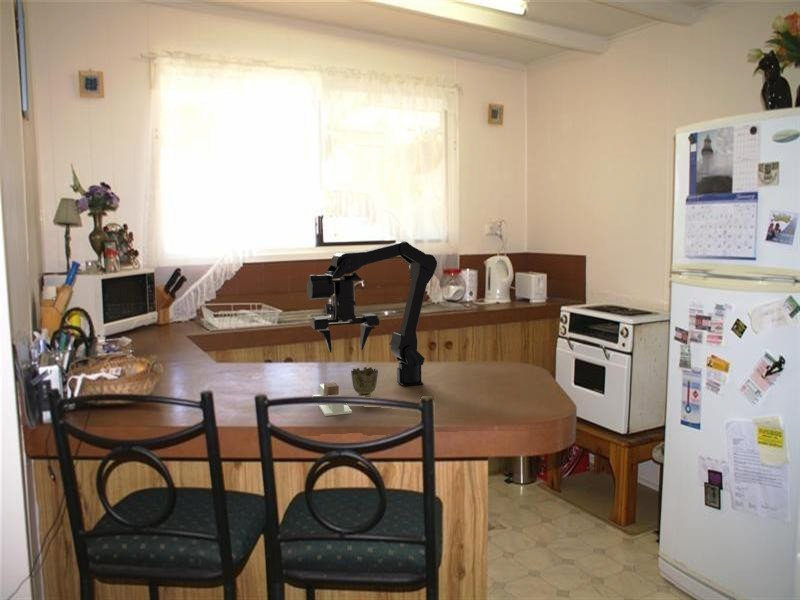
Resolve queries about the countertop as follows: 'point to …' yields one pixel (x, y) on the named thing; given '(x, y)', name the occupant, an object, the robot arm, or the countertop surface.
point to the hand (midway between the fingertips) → (346, 351)
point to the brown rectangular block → (331, 389)
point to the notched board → (327, 411)
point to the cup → (364, 381)
